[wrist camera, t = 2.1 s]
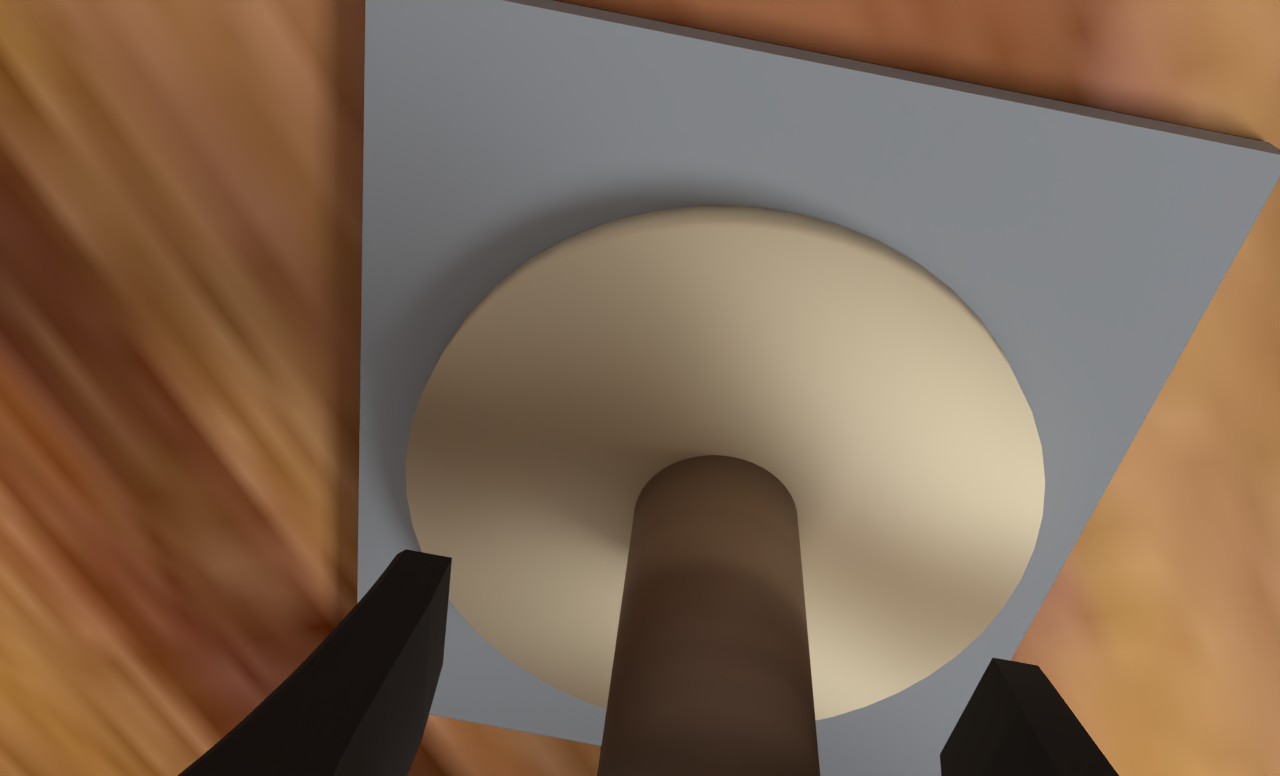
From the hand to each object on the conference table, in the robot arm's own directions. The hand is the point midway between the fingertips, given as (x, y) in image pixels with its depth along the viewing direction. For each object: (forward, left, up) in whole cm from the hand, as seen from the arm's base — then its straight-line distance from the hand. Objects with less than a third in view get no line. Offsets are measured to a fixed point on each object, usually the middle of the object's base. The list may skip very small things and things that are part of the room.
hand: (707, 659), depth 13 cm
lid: (0, 0, -4) cm, 4 cm away
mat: (0, 0, -4) cm, 4 cm away
